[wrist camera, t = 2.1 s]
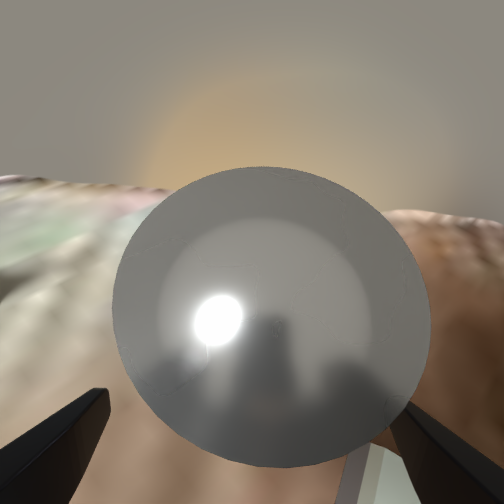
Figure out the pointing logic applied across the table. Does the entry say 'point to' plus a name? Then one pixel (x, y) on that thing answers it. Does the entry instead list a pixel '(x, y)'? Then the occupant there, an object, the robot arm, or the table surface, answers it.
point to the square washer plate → (375, 478)
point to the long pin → (271, 317)
